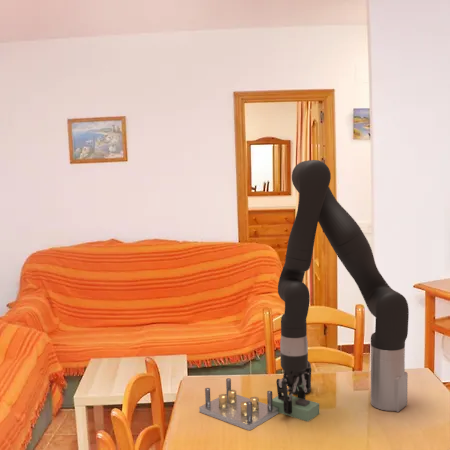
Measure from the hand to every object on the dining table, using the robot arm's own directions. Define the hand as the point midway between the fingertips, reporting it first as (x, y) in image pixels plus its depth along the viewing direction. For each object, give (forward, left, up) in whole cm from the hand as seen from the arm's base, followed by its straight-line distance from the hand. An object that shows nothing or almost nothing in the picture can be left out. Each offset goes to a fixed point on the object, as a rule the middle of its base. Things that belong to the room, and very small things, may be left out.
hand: (294, 408), depth 154 cm
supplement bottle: (+7, -13, -1) cm, 15 cm away
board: (0, 0, -1) cm, 1 cm away
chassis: (+12, +10, -1) cm, 16 cm away
